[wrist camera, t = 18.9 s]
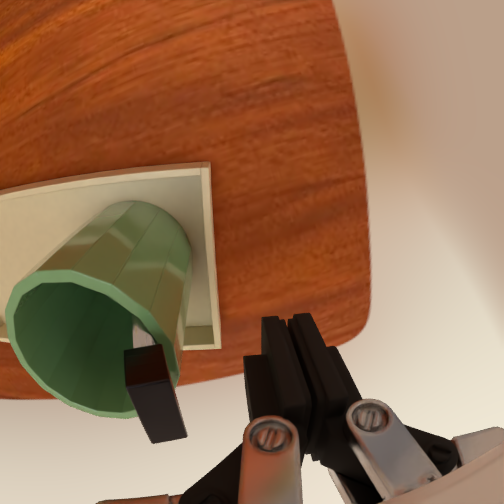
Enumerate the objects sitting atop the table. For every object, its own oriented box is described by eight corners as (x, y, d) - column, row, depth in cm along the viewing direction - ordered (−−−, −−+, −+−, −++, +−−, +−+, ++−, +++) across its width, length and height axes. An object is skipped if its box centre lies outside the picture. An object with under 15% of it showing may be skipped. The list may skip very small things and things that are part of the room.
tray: (210, 161, 17) (208, 167, 14) (220, 322, 21) (221, 348, 18) (-30, 197, 15) (-53, 208, 12) (6, 321, 19) (-9, 340, 17)
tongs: (144, 237, 17) (170, 379, 7) (152, 281, 18) (188, 437, 8) (124, 240, 16) (124, 387, 7) (132, 284, 17) (151, 444, 8)
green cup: (188, 195, 16) (159, 265, 8) (198, 306, 19) (191, 421, 11) (73, 206, 16) (-19, 273, 8) (96, 308, 19) (47, 409, 10)
